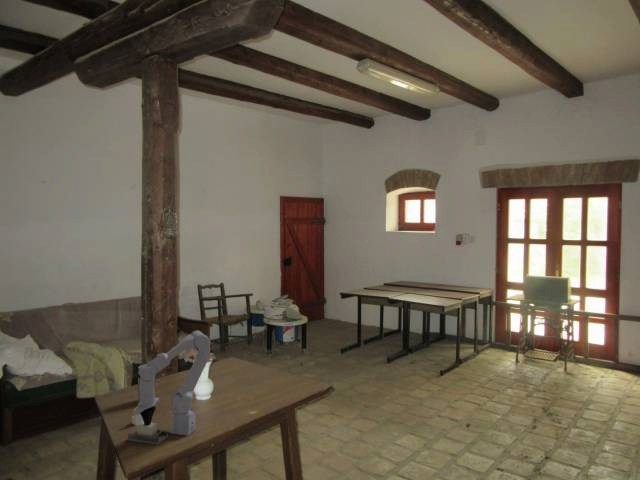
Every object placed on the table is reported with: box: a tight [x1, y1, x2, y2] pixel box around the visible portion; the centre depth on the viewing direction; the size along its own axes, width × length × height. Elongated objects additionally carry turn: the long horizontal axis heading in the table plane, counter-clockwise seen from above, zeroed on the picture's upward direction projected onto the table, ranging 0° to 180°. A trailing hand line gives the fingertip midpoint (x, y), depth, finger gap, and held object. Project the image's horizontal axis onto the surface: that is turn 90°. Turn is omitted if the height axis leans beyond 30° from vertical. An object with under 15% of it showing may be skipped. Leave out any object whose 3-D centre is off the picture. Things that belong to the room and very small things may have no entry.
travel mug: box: [137, 363, 156, 403], centre depth 243 cm, size 8×8×18 cm
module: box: [136, 422, 158, 437], centre depth 203 cm, size 7×4×5 cm, turn 74°
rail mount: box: [126, 428, 169, 446], centre depth 203 cm, size 15×7×3 cm, turn 74°
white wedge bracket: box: [131, 404, 144, 426], centre depth 219 cm, size 4×10×9 cm
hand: (147, 424), depth 203 cm, fingers closed, pressing on module
